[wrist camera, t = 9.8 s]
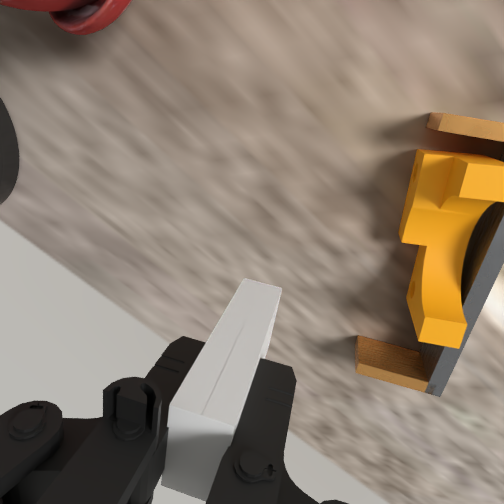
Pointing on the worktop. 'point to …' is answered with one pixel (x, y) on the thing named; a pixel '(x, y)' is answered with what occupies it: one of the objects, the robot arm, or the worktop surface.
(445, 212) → the pipe clamp
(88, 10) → the plant pot
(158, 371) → the robot arm
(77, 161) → the worktop surface
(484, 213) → the keeper bracket
